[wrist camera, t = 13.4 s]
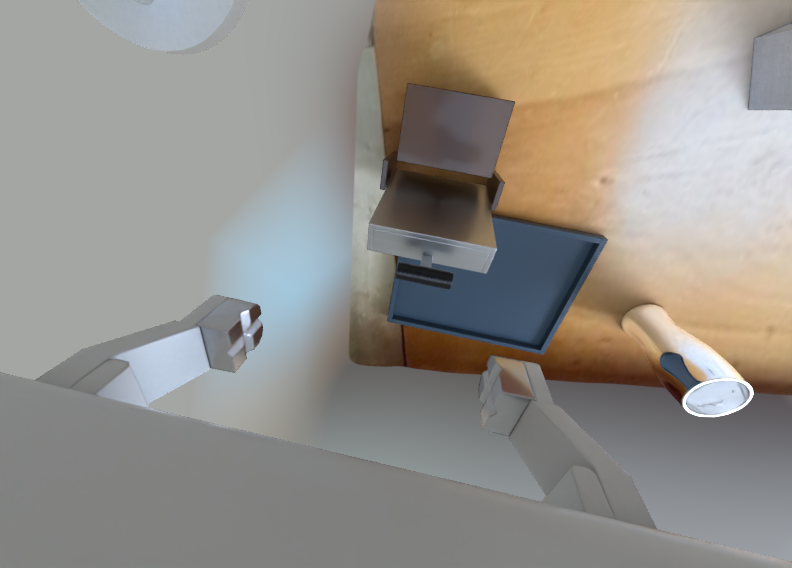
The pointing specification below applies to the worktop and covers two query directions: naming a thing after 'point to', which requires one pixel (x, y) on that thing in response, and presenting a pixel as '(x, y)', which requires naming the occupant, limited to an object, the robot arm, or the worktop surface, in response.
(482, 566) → the robot arm
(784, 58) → the grey boxy piece
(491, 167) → the stand
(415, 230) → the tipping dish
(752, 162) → the worktop surface
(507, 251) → the tray
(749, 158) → the worktop surface
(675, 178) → the worktop surface
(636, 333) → the silver metal vase
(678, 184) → the worktop surface
